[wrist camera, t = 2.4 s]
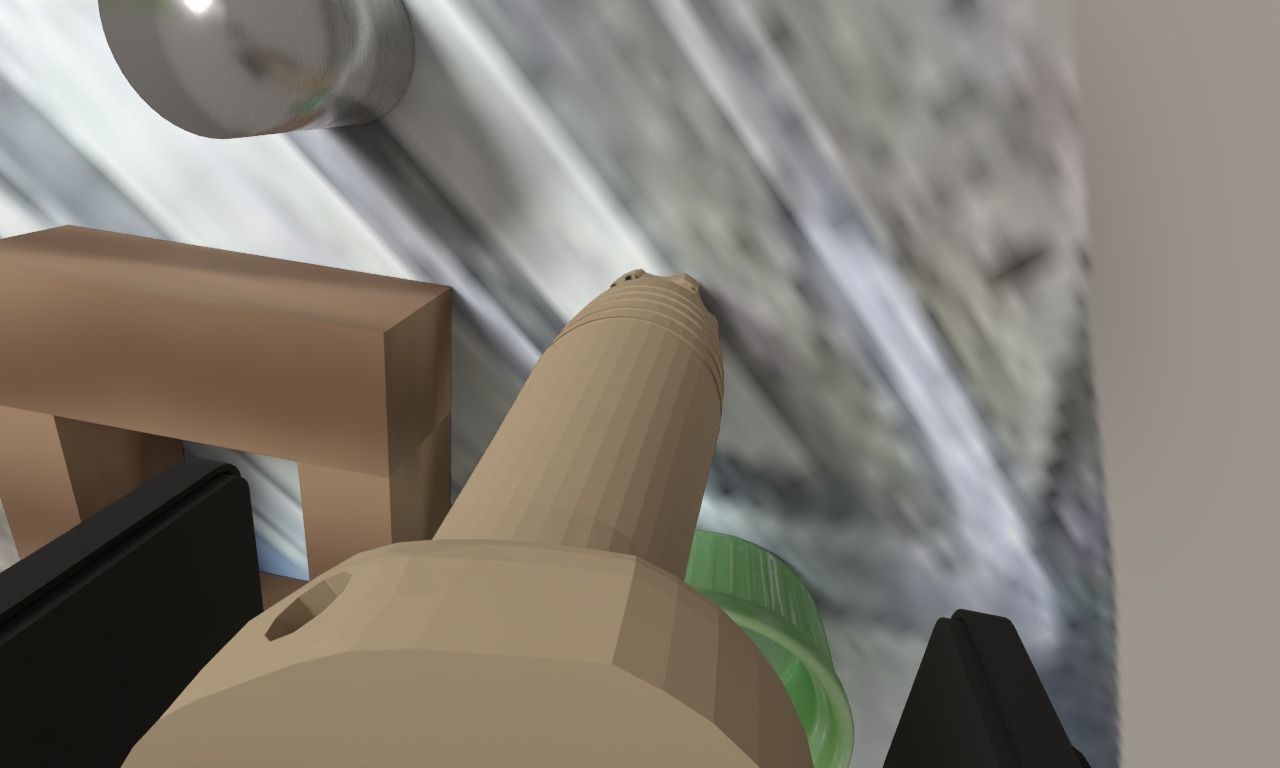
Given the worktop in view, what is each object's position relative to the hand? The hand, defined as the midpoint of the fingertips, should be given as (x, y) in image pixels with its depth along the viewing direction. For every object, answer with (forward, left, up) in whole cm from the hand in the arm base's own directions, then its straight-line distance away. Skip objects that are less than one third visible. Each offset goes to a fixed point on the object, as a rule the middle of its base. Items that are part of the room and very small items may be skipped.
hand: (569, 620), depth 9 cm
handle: (-1, 0, -11) cm, 11 cm away
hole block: (+7, -12, -11) cm, 18 cm away
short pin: (-7, -9, -11) cm, 16 cm away
